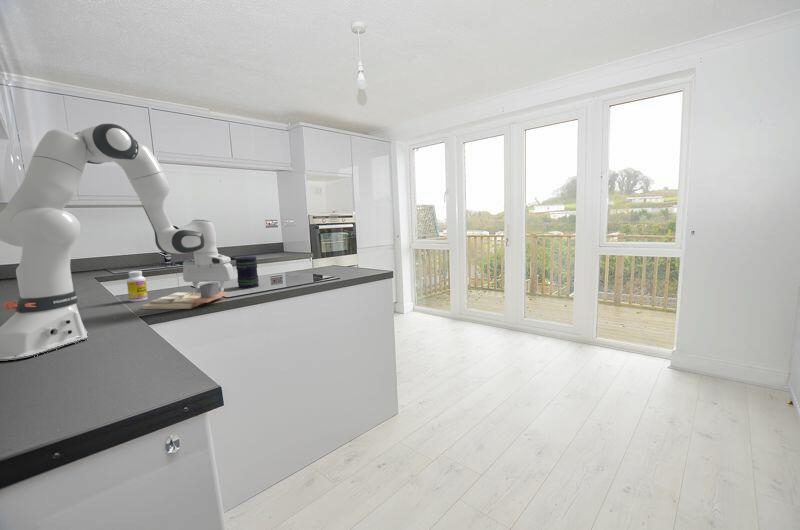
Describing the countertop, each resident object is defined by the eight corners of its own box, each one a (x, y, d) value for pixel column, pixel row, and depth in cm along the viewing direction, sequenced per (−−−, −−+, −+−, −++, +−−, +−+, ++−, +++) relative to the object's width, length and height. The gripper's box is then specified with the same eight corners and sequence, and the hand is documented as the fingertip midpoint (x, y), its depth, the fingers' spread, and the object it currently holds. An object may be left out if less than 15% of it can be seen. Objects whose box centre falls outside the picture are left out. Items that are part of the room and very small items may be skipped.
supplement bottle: (138, 302, 151) (134, 273, 149) (125, 302, 152) (121, 272, 150) (151, 298, 157) (148, 270, 155) (139, 298, 159) (135, 270, 157)
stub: (207, 302, 140) (206, 287, 139) (193, 302, 140) (191, 287, 140) (226, 294, 154) (225, 280, 153) (213, 294, 154) (212, 280, 153)
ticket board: (190, 308, 138) (189, 301, 137) (142, 309, 139) (141, 302, 139) (219, 296, 157) (218, 290, 157) (177, 297, 159) (176, 291, 158)
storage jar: (239, 285, 181) (236, 257, 179) (259, 284, 184) (257, 256, 182) (236, 289, 172) (233, 259, 170) (258, 287, 175) (255, 258, 173)
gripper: (177, 260, 142) (181, 293, 144) (225, 259, 141) (229, 293, 143) (187, 258, 149) (191, 290, 151) (234, 257, 147) (237, 289, 149)
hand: (210, 291), depth 147 cm, fingers open, 8 cm apart
